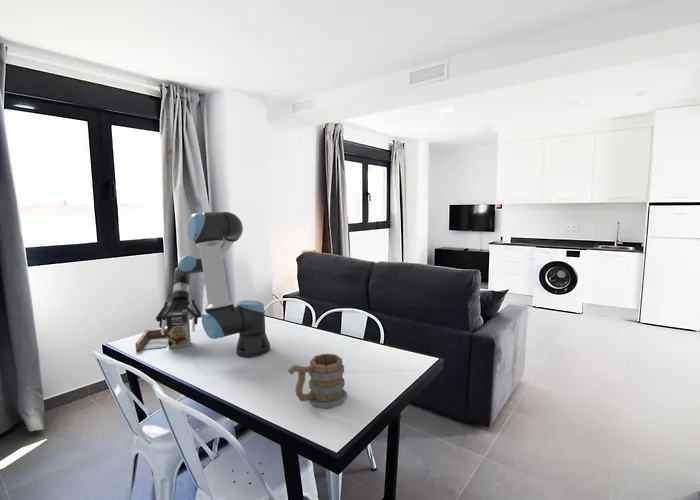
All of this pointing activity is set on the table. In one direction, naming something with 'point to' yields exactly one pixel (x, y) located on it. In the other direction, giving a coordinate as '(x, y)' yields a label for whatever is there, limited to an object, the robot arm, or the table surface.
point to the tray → (152, 340)
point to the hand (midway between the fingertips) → (178, 332)
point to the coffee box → (178, 329)
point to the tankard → (322, 381)
